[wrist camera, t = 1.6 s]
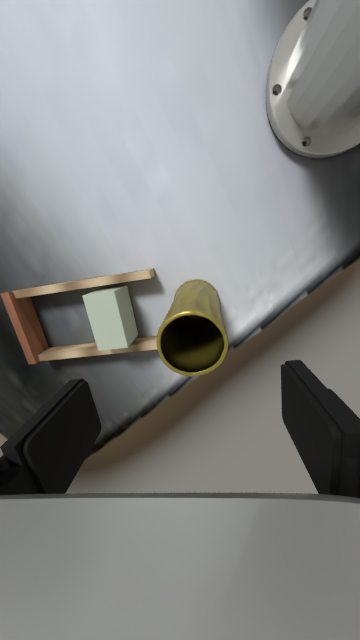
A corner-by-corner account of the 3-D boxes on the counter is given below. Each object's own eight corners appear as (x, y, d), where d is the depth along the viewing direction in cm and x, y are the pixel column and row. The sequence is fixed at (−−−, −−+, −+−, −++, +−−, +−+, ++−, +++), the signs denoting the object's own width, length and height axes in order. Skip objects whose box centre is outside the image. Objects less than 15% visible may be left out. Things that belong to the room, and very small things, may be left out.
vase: (228, 304, 28) (252, 351, 15) (193, 331, 30) (186, 396, 17) (199, 269, 27) (196, 285, 14) (165, 299, 29) (132, 339, 16)
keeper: (127, 285, 29) (113, 291, 24) (138, 334, 31) (128, 347, 27) (99, 289, 29) (82, 295, 25) (112, 337, 31) (98, 350, 27)
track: (153, 268, 28) (147, 270, 25) (167, 341, 31) (163, 350, 28) (20, 289, 31) (0, 293, 28) (44, 354, 34) (28, 364, 31)
